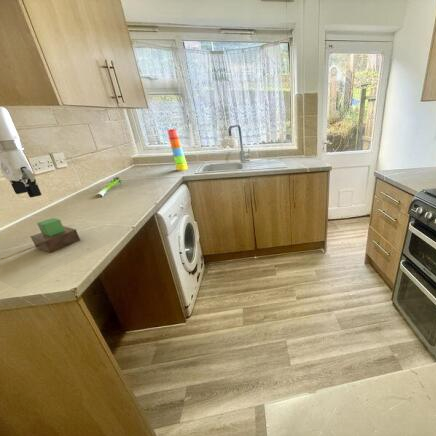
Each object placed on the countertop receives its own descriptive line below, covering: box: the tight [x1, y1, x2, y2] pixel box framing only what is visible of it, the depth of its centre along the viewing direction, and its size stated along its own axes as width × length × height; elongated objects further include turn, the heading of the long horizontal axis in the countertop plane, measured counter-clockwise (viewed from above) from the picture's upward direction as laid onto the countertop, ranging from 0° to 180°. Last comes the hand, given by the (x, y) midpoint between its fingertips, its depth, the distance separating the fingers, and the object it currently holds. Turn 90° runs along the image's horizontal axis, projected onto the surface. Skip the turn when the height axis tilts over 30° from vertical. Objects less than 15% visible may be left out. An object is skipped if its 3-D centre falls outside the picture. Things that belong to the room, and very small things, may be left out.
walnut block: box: [29, 225, 81, 254], centre depth 95 cm, size 10×10×5 cm
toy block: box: [36, 217, 65, 237], centre depth 93 cm, size 5×5×5 cm
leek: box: [95, 176, 123, 198], centre depth 164 cm, size 6×7×30 cm
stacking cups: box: [167, 128, 188, 171], centre depth 209 cm, size 10×10×35 cm
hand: (28, 194), depth 89 cm, fingers open, 9 cm apart
